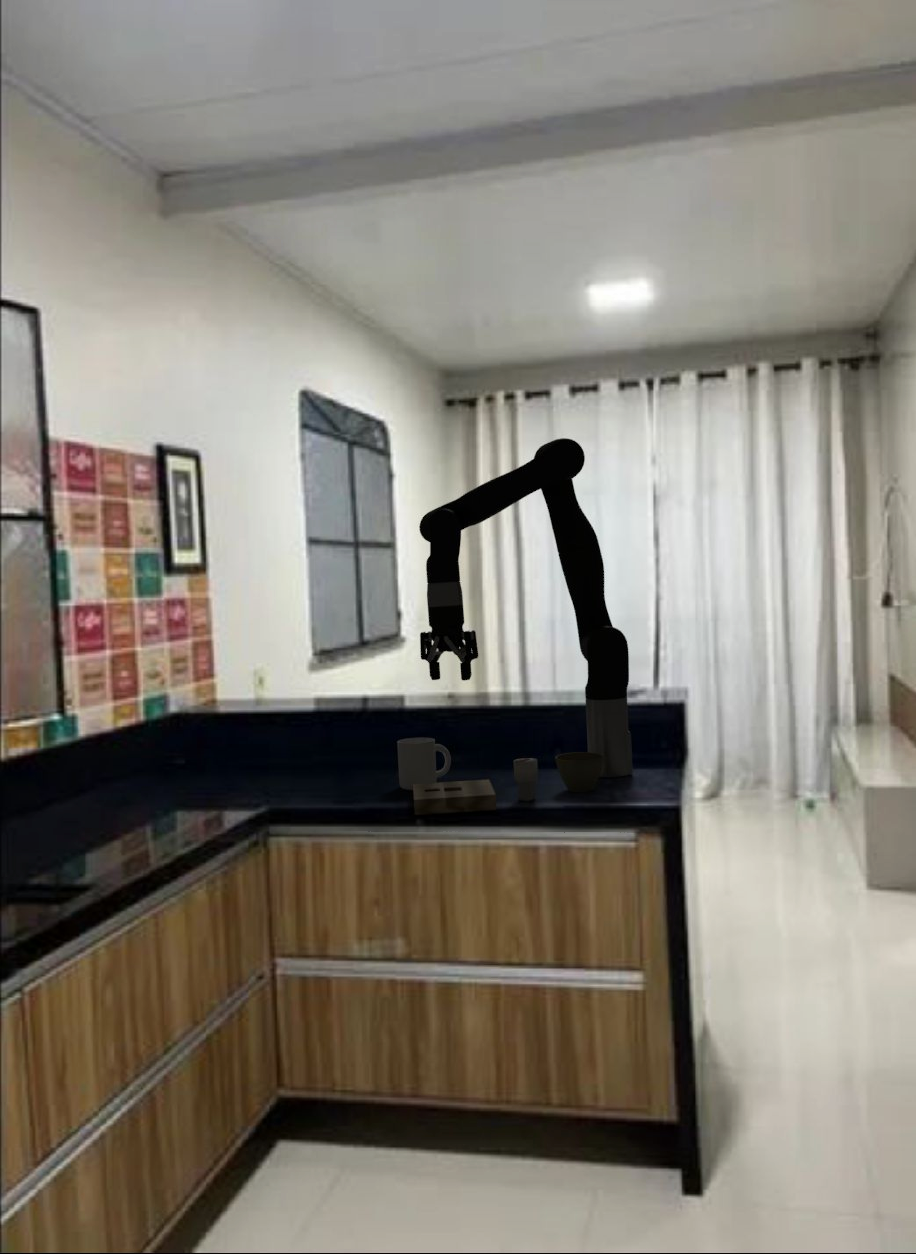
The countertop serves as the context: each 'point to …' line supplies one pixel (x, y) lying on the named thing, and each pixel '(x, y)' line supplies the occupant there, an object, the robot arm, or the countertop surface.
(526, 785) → the knob
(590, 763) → the yellowish brown bowl
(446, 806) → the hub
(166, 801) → the countertop surface
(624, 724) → the robot arm
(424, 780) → the mug
